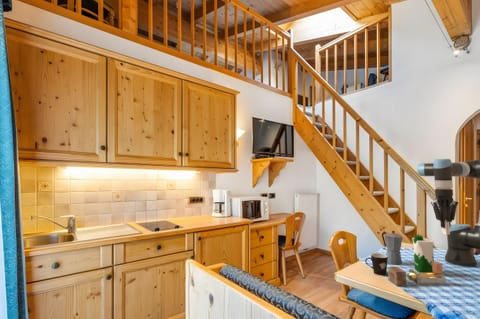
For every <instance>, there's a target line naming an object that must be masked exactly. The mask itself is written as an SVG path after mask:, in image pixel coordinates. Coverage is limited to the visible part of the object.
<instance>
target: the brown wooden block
mask: <svg viewBox="0 0 480 319" xmlns="http://www.w3.org/2000/svg"><path fill="white" fill-rule="evenodd" d="M387 274H388V281H389V282H390V283H392V284H394V285H395V286H396V287H407V286H408V285H407V271H406V270H404V269H402V268H401V267H399V266H387Z"/></svg>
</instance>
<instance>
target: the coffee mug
mask: <svg viewBox="0 0 480 319" xmlns="http://www.w3.org/2000/svg"><path fill="white" fill-rule="evenodd" d="M368 260H371V264H372V265H370V264H369V263H367V261H368ZM387 260H388V256H387V255H386V254H385V253H381V252H380V253H379V252H373V253H370V257H366V258H365V260H364V262H365V264H366V265H367V266H368V267H370V268H371V269H372V271H373V274H374V275H377V276H386V275H387V273H388V263H387Z"/></svg>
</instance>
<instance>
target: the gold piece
mask: <svg viewBox="0 0 480 319" xmlns="http://www.w3.org/2000/svg"><path fill="white" fill-rule="evenodd" d="M432 270H433V272H425V273H420V275H421V277H444V276H443V275H444V274H443V263H442V262H440V261H434V262H432ZM407 278H408V280H409V281H411V280H417V279H416V274H415V273H410V272H407Z"/></svg>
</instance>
